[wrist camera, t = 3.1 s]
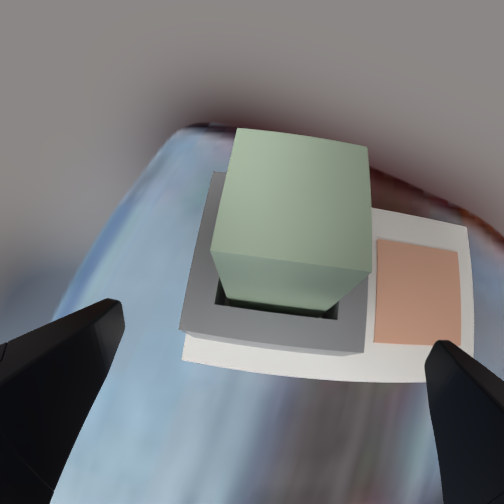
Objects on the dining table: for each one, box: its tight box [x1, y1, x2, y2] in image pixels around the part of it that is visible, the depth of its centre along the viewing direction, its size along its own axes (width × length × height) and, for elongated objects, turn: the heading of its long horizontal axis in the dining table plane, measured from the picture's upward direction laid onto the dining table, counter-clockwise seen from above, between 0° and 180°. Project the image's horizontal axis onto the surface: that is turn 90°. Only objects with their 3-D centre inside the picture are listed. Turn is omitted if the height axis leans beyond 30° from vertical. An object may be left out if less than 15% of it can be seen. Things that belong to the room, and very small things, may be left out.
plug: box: [210, 128, 372, 318], centre depth 15 cm, size 5×5×10 cm
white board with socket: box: [179, 171, 474, 382], centre depth 18 cm, size 12×20×5 cm, turn 82°
